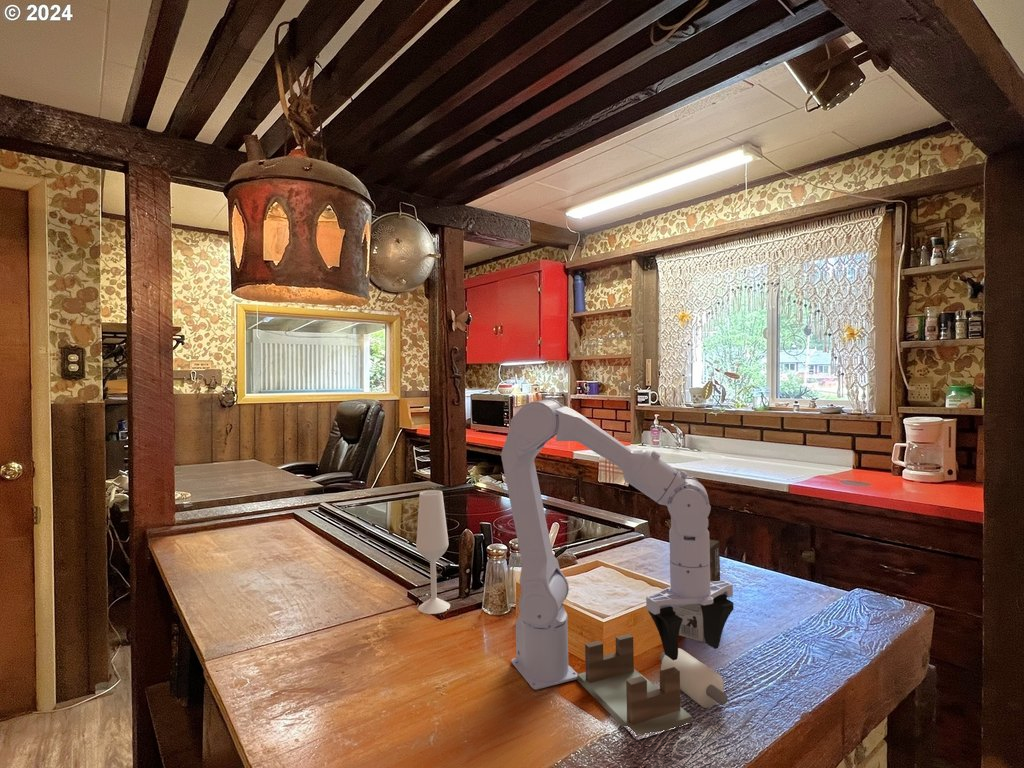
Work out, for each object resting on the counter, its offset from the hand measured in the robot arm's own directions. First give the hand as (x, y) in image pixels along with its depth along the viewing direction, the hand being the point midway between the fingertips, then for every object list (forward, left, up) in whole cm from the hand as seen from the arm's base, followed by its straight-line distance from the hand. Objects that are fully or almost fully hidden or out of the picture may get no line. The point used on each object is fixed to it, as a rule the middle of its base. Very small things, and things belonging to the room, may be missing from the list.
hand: (691, 651), depth 84 cm
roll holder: (-2, -10, -6) cm, 12 cm away
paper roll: (0, 0, -4) cm, 4 cm away
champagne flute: (-47, -28, -6) cm, 55 cm away
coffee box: (-16, +14, -7) cm, 23 cm away
